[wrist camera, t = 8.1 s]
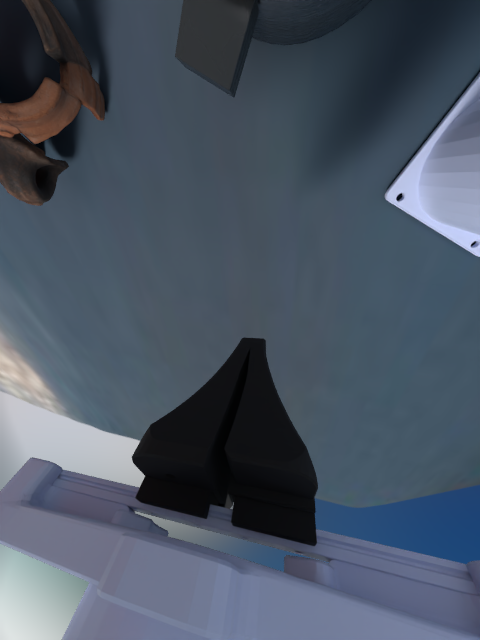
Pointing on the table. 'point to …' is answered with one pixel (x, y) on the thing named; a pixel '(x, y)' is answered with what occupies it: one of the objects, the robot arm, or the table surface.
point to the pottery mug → (45, 111)
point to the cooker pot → (250, 31)
